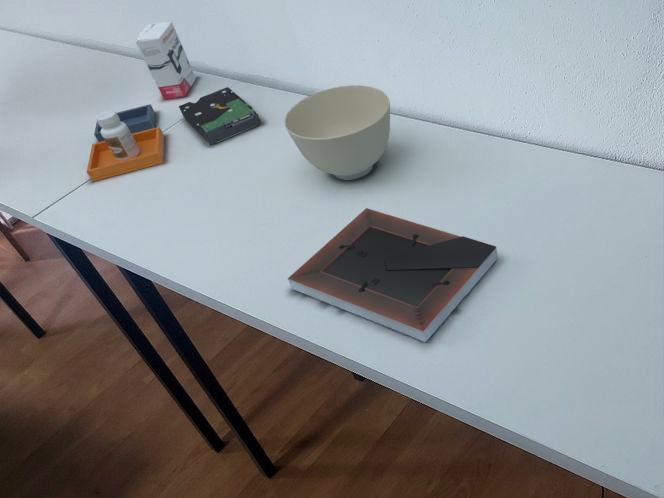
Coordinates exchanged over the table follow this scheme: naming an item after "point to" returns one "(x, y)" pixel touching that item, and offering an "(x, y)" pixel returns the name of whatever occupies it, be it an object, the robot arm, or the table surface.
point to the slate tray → (133, 120)
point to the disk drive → (219, 115)
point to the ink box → (166, 59)
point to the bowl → (341, 129)
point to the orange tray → (107, 165)
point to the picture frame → (395, 272)
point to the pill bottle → (117, 136)
